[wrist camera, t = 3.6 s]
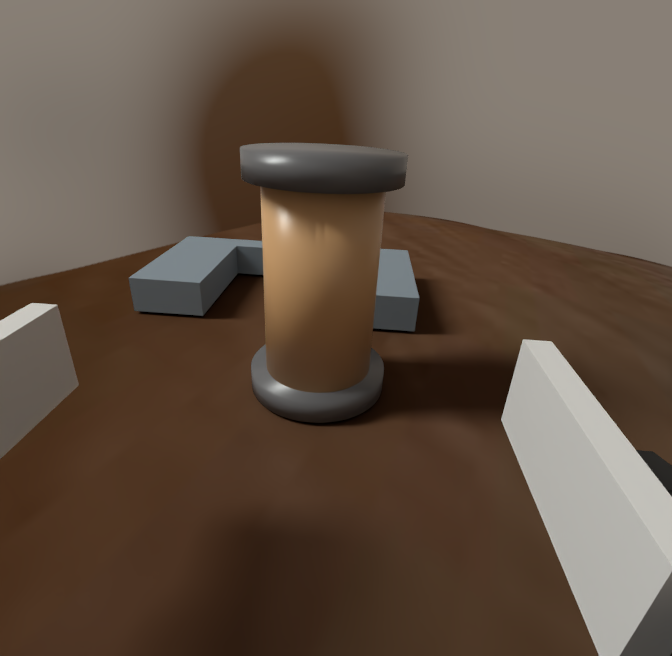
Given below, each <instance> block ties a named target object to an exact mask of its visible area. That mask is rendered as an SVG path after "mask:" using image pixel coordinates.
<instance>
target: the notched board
mask: <svg viewBox="0 0 672 656" xmlns="http://www.w3.org/2000/svg"><path fill="white" fill-rule="evenodd" d="M238 273H242V274H257V275H263V246H262V241H252V240H237V239H222V238H206V237H191V236H188V237H187V238H185V239H184V240H183V241H181V242H180V243H178V244H177V245H175V246H174V247H172V248H171V249H170V250H168V251H167V252H165V253H164V254H162V255H161V256H159V257H158V258H157V259H155V260H154V261H152V262H151V263H149V264H148V265H147V266H145V267H144V268H142V269H141V270H139V271H138V272H136V273H135V274H134V275H132V276H131V277H129V283H130V288H131V294H132V299H133V305H134V310H135V311H145V312H158V313H172V314H186V315H199V316H203V315H204V314H205V313H206V312H207V310H208V309H209V308H210V307H211V305H212V304H213V303H214V302H215V301H216V299H217V298H218V297H219V296H220V294H221V293H222V292H223V291H224V290H225V288H226V287H227V286H228V285H229V283H230V282H231V281H232V280H233V279H234V277H235V276H236V275H237V274H238ZM418 304H419V295H418V291H417V287H416V283H415V279H414V275H413V271H412V267H411V263H410V258H409V254H408V251H406V250H391V249H380V258H379V269H378V280H377V291H376V301H375V312H374V323H373V328H376V329H389V330H403V331H415V325H416V318H417V311H418Z"/></svg>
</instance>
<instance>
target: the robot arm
mask: <svg viewBox="0 0 672 656" xmlns="http://www.w3.org/2000/svg"><path fill="white" fill-rule="evenodd" d="M78 385H79V384H78V380H77V377H76V373H75V369H74V365H73V362H72V358H71V354H70V350H69V347H68V343H67V339H66V335H65V332H64V328H63V324H62V320H61V317H60V313H59V309H58V305H51V304H38V303H31V304H29V305H27V306H26V307H24V308H22V309H20V310H18V311H17V312H15V313H13V314H11V315H10V316H8V317H6V318H4V319H3V320H1V321H0V459H1V458H2V457H3V456H4V455H5V454H6V453H7V452H8V451H9V450H10V449H11V448H12V447H13V446H14V445H16V444H17V443H18V442H19V441H20V440H21V439H22V438H23V437H24V436H25V435H26V434H27V433H28V432H29V431H30V430H31V429H33V428H34V427H35V426H36V425H37V424H38V423H39V422H40V421H41V420H42V419H43V418H44V417H45V416H46V415H47V414H48V413H50V412H51V411H52V410H53V409H54V408H55V407H56V406H57V405H58V404H59V403H60V402H61V401H62V400H63V399H64V398H66V397H67V396H68V395H69V394H70V393H71V392H72V391H73V390H74V389H75V388H76V387H77V386H78ZM501 421H502V423H503V426H504V428H505V431H506V433H507V435H508V438H509V440H510V443H511V445H512V447H513V450H514V452H515V455H516V457H517V459H518V462H519V464H520V467H521V469H522V471H523V474H524V476H525V479H526V481H527V483H528V486H529V488H530V491H531V493H532V495H533V498H534V500H535V503H536V505H537V507H538V510H539V512H540V515H541V517H542V519H543V522H544V524H545V527H546V529H547V532H548V534H549V536H550V539H551V541H552V544H553V546H554V548H555V551H556V553H557V556H558V558H559V560H560V563H561V565H562V568H563V570H564V572H565V575H566V577H567V580H568V582H569V584H570V587H571V589H572V592H573V594H574V596H575V599H576V601H577V604H578V606H579V608H580V611H581V613H582V616H583V618H584V620H585V623H586V625H587V628H588V630H589V632H590V635H591V637H592V640H593V642H594V644H595V647H596V649H597V652H598V654H599V656H672V466H671V465H670V464H669V463H667V462H666V461H665V460H663V459H662V458H661V457H659V456H658V455H657V454H655V453H654V452H651V451H639V450H635V449H634V447H633V446H632V445H631V443H630V442H629V441H628V440H627V438H626V437H625V436H624V434H623V433H622V432H621V431H620V429H619V428H618V427H617V425H616V424H615V423H614V421H613V420H612V419H611V418H610V416H609V415H608V414H607V412H606V411H605V410H604V409H603V407H602V406H601V405H600V403H599V402H598V401H597V399H596V398H595V397H594V396H593V394H592V393H591V392H590V390H589V389H588V388H587V387H586V385H585V384H584V383H583V381H582V380H581V379H580V378H579V376H578V375H577V374H576V372H575V371H574V370H573V368H572V367H571V366H570V365H569V363H568V362H567V361H566V359H565V358H564V357H563V356H562V354H561V353H560V352H559V350H558V349H557V348H556V347H555V345H554V344H553V343H552V342H551V341H538V340H524V339H523V341H522V345H521V349H520V352H519V356H518V360H517V363H516V367H515V371H514V374H513V378H512V382H511V385H510V389H509V393H508V396H507V400H506V403H505V407H504V411H503V414H502V418H501Z"/></svg>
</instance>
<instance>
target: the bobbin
mask: <svg viewBox="0 0 672 656" xmlns="http://www.w3.org/2000/svg"><path fill="white" fill-rule="evenodd" d="M240 159H241V177H242V180H244V181H245V182H247V183H250V184H253V185H257V186H261V216H262V246H263V277H264V307H265V337H266V345H264V346H263V347H262V348H261V349H259V350H258V352H257V353H256V354H255V356H254V357H253V360H252V364H251V372H252V388H253V392H254V394H255V396H256V398H257V399H258V401H259V402H260V403H261V404H262V405H263V406H264V407H266V408H267V409H268V410H270V411H272V412H274V413H275V414H278V415H280V416H282V417H285V418H289V419H292V420H297V421H302V422H312V423H326V422H335V421H341V420H345V419H349V418H352V417H355V416H357V415H359V414H361V413H363V412H365V411H366V410H368V409H369V408H371V407H372V406H373V405H374V404H375V403H376V402H377V400H378V399H379V397H380V395H381V392H382V384H383V375H384V364H383V361H382V359H381V357H380V356H379V354H378V353H377V352H376V351H375V350H374V349H372V348H371V344H372V333H373V323H374V312H375V301H376V291H377V280H378V269H379V258H380V248H381V237H382V226H383V216H384V205H385V194H386V192H387V191H393V190H397V189H400V188H402V187H404V186H405V178H406V169H407V160H408V155H407V154H405V153H403V152H399V151H394V150H388V149H381V148H372V147H362V146H351V145H335V144H313V143H312V144H311V143H265V144H264V143H263V144H250V145H244V146H241V147H240Z"/></svg>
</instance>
